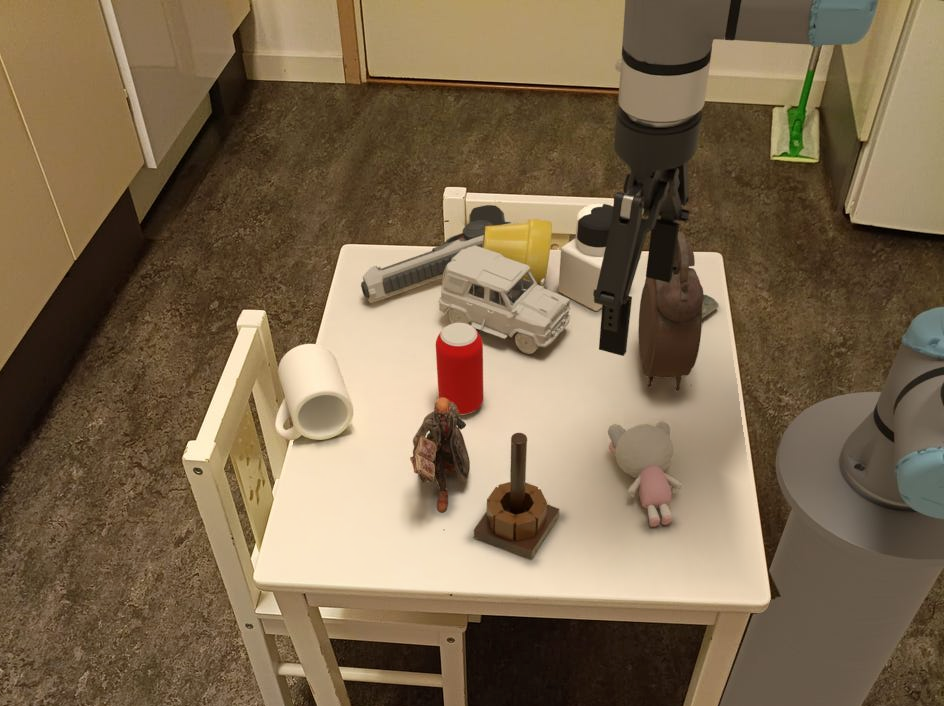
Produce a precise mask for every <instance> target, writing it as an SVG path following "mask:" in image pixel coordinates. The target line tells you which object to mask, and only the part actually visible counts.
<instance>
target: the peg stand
mask: <svg viewBox="0 0 944 706" xmlns="http://www.w3.org/2000/svg"><path fill="white" fill-rule="evenodd" d="M527 450H528V436H527V435H526V434H525V433H523V432H515V433H513V434H512V435H511V437H510V475H509V476H510V481H509V482H510V508H509V509H505V511H507V512H510V513H513V514H515V515H517V514H521V513H525V512H528V511H529V510H526V509H524V507H525V482H526V479H527V477H526V475H527V474H526V473H527V454H528V453H527ZM559 517H560V508H559V507H556V506H552V505H550V504H548V503H547V513H546V522H545V524H544V525H543V527H542V528H541V530H540V532H539V533H538V534H535V536H534V537H530V538H526V539H522V540H518V541H516V540H515V539H514V540H513V541H512V540H509V539H506V538H504V537H501V536H499V535H496V534H495V532H493V531H492V529H491V527H490V524H489V522H488V520H487V511H485V513H484V515H482V517H481V519H480V520H479V521H478V523H477V524H476V526H475V527H474V528H473V538H475V539H477V540H479V541H482V542H485V543H488V544H490V545H493V546H495V547H498V548H500V549H502V550H506V551H509V552H510V553H513V554H516V555H518V556H521V557H523V558H526V559H529V560H532V559H533V558H534V556H535V555H536V553H537V552H538V550H539V549H540V547H541V545H542V543H544V540H545V539H546V537H547V536H548V534H549V533H550V531H551V530H552V528H553V526H554V525H555V523H556V522H557V520H558V518H559Z"/></svg>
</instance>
